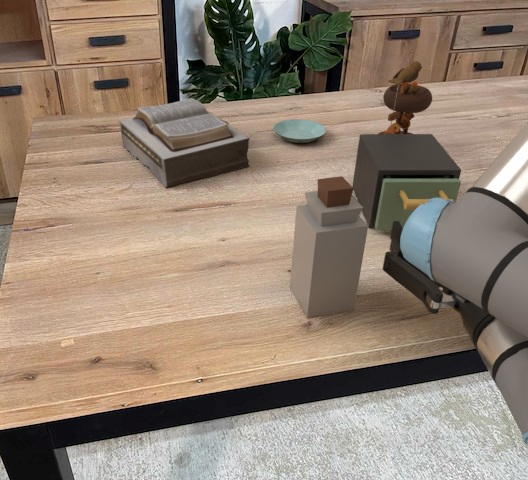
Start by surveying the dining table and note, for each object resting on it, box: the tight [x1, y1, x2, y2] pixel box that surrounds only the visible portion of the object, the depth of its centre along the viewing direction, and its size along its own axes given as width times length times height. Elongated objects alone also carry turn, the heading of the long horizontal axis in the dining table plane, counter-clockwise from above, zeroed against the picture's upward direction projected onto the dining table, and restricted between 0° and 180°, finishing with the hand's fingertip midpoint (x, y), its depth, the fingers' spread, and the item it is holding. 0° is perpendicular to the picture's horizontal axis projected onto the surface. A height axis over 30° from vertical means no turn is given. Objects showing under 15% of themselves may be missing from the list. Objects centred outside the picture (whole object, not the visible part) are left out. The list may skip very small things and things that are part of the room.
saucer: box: [272, 118, 327, 144], centre depth 122 cm, size 12×12×2 cm
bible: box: [118, 97, 250, 189], centre depth 113 cm, size 23×27×10 cm
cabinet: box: [351, 133, 462, 229], centre depth 93 cm, size 15×13×11 cm
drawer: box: [374, 175, 462, 231], centre depth 88 cm, size 18×12×9 cm, turn 178°
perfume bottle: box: [289, 175, 369, 319], centre depth 70 cm, size 7×7×18 cm
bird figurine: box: [377, 60, 433, 134], centre depth 110 cm, size 15×11×20 cm
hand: (443, 229), depth 74 cm, fingers open, 13 cm apart
